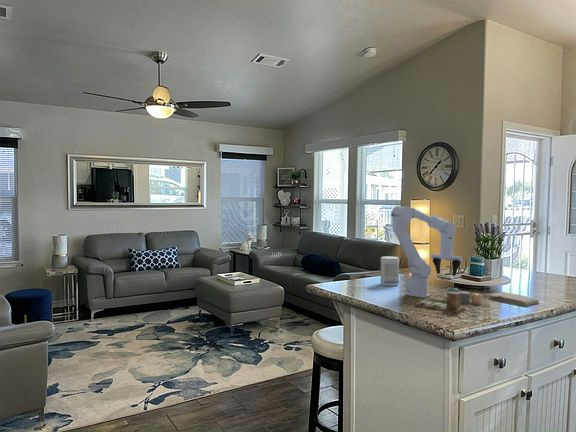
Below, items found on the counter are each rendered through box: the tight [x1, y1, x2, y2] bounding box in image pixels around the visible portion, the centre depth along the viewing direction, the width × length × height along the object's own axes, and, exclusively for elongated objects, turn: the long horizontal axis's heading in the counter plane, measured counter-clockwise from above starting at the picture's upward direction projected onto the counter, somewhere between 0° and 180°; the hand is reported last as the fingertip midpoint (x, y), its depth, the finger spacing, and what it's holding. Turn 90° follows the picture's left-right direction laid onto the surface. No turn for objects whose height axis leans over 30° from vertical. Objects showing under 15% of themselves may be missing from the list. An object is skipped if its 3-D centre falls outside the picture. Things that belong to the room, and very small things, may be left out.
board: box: [414, 299, 466, 314], centre depth 181 cm, size 18×8×1 cm, turn 49°
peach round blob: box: [470, 292, 483, 305], centre depth 189 cm, size 4×4×4 cm
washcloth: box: [488, 291, 540, 307], centre depth 194 cm, size 12×18×3 cm, turn 33°
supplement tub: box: [380, 255, 400, 287], centre depth 229 cm, size 10×10×15 cm
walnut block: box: [446, 291, 462, 309], centre depth 177 cm, size 4×4×6 cm
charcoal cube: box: [457, 290, 471, 305], centre depth 191 cm, size 4×4×4 cm
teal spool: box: [446, 287, 460, 293], centre depth 195 cm, size 5×5×5 cm
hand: (446, 274), depth 207 cm, fingers open, 7 cm apart
